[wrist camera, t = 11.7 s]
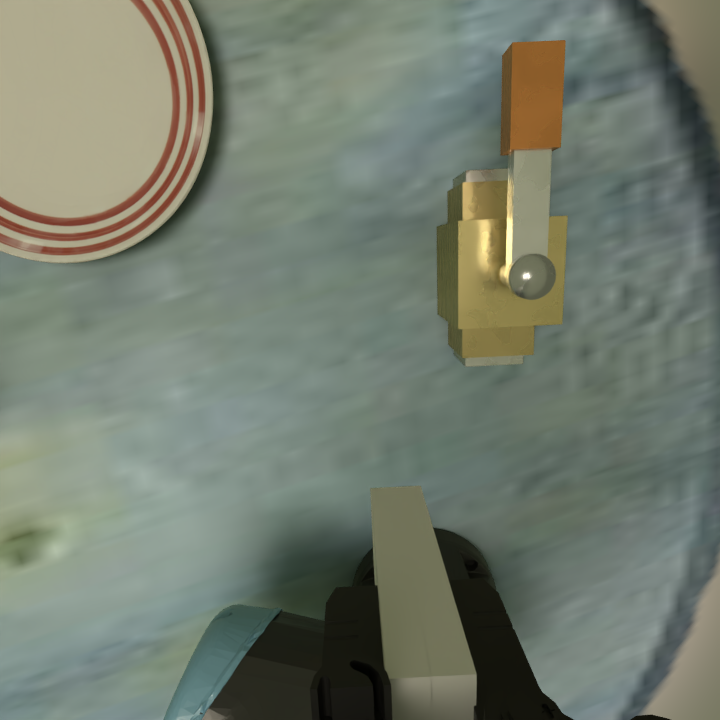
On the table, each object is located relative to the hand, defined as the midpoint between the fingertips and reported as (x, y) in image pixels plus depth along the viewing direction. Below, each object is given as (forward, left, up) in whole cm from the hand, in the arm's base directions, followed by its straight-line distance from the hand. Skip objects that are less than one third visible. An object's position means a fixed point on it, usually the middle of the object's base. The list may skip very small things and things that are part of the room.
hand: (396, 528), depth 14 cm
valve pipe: (+6, -11, -32) cm, 35 cm away
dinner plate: (+22, +25, -33) cm, 47 cm away
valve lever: (+12, -11, -23) cm, 28 cm away
